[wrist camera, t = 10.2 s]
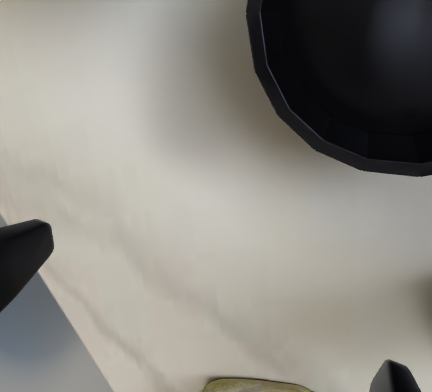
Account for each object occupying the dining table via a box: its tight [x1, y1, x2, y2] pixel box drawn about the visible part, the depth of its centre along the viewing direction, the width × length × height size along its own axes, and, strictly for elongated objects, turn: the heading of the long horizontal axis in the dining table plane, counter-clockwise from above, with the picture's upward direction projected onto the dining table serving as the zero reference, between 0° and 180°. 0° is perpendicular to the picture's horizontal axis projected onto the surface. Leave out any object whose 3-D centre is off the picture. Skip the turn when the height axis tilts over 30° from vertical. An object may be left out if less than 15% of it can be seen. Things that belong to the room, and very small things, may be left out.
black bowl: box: [246, 0, 432, 177], centre depth 13 cm, size 12×12×4 cm
